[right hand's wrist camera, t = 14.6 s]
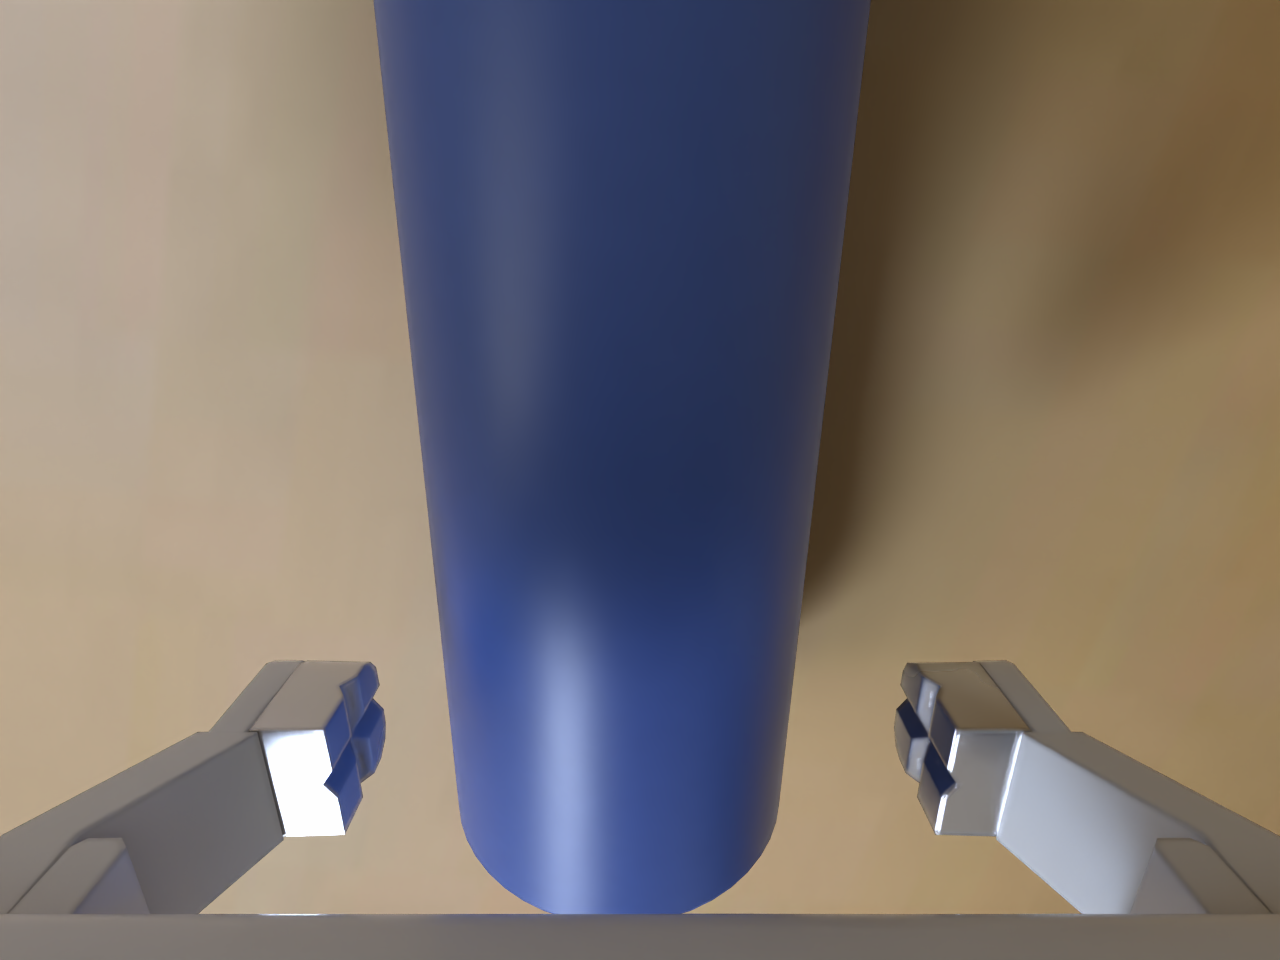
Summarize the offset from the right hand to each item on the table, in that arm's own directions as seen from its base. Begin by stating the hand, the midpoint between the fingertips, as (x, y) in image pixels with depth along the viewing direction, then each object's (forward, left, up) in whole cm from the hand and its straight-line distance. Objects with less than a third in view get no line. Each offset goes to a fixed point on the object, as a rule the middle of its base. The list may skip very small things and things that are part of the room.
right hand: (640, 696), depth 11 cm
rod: (+3, +7, -5) cm, 9 cm away
